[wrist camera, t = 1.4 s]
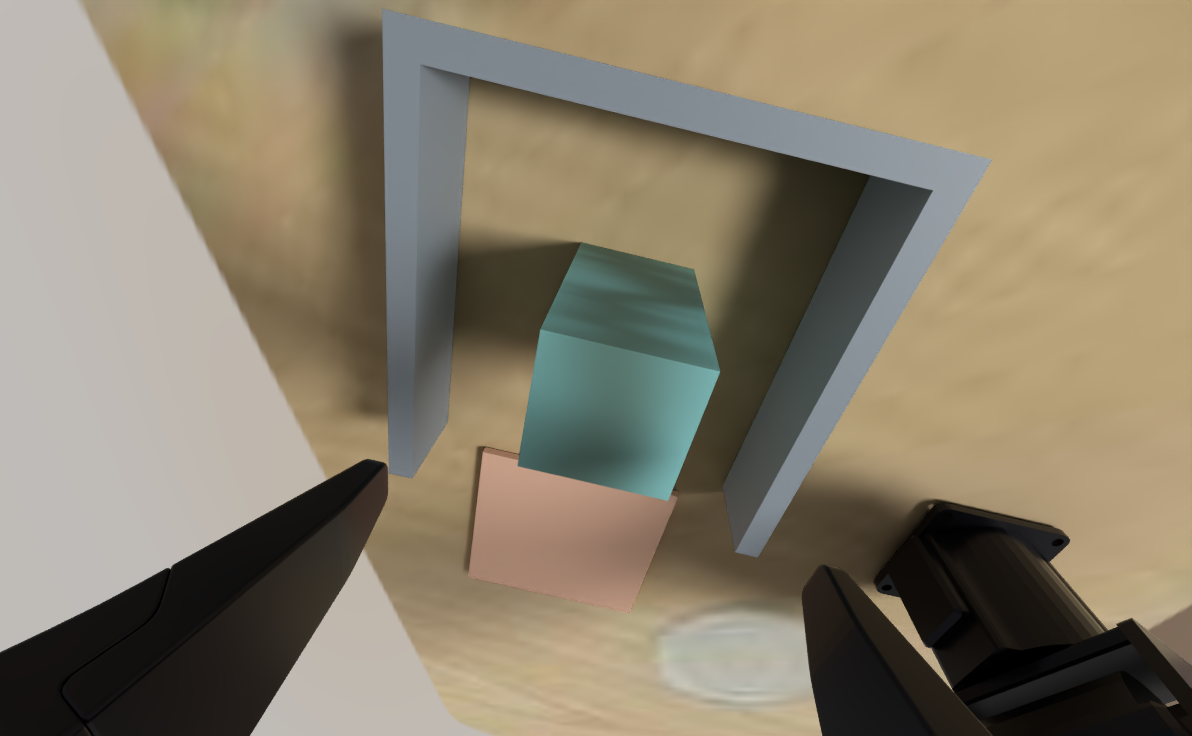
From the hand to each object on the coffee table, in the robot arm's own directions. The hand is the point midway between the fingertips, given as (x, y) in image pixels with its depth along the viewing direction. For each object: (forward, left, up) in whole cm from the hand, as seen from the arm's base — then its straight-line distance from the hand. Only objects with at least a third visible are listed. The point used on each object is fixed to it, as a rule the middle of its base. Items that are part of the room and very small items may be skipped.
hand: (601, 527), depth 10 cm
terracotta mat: (0, +14, -12) cm, 18 cm away
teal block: (0, 0, -12) cm, 12 cm away
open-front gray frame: (0, 0, -12) cm, 12 cm away
